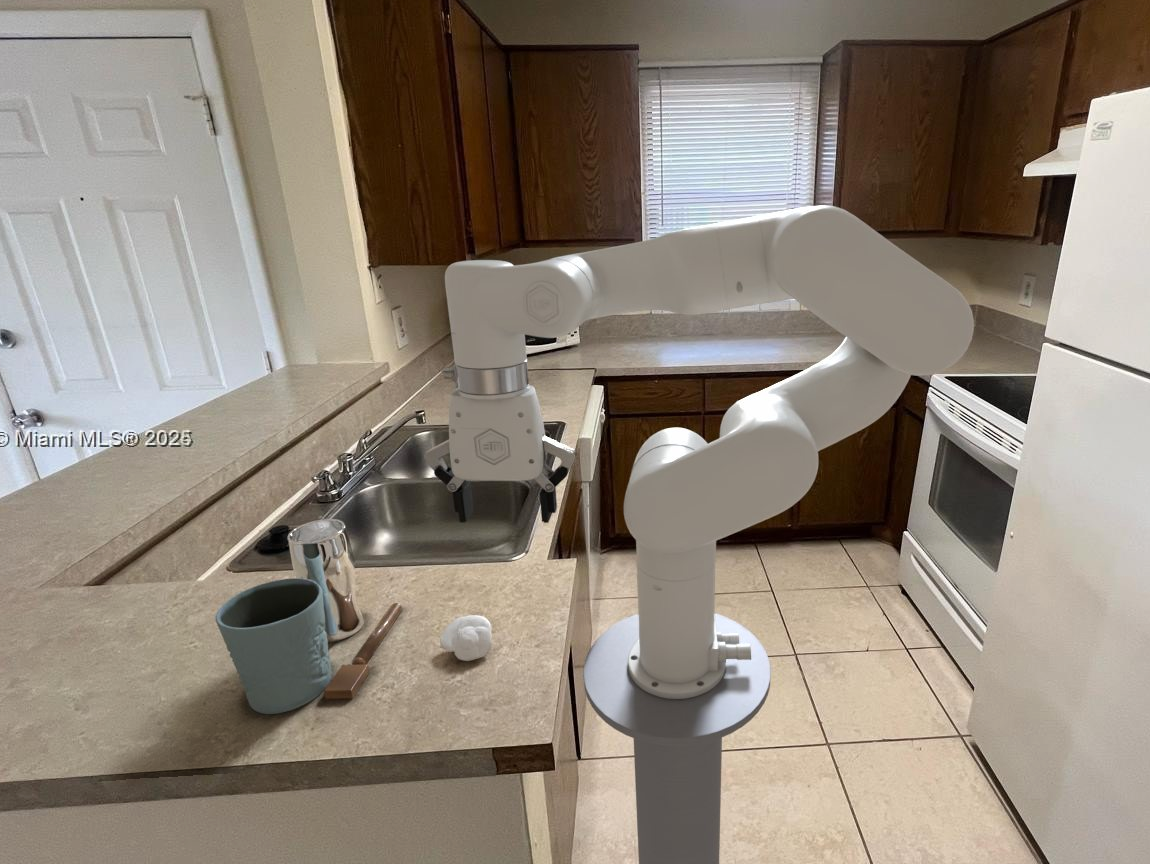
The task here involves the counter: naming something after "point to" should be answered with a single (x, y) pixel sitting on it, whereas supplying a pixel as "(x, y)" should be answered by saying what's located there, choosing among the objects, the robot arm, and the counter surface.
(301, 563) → the chrome tumbler
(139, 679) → the counter surface
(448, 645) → the dumpling
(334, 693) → the wooden spatula
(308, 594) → the teal embossed cup
